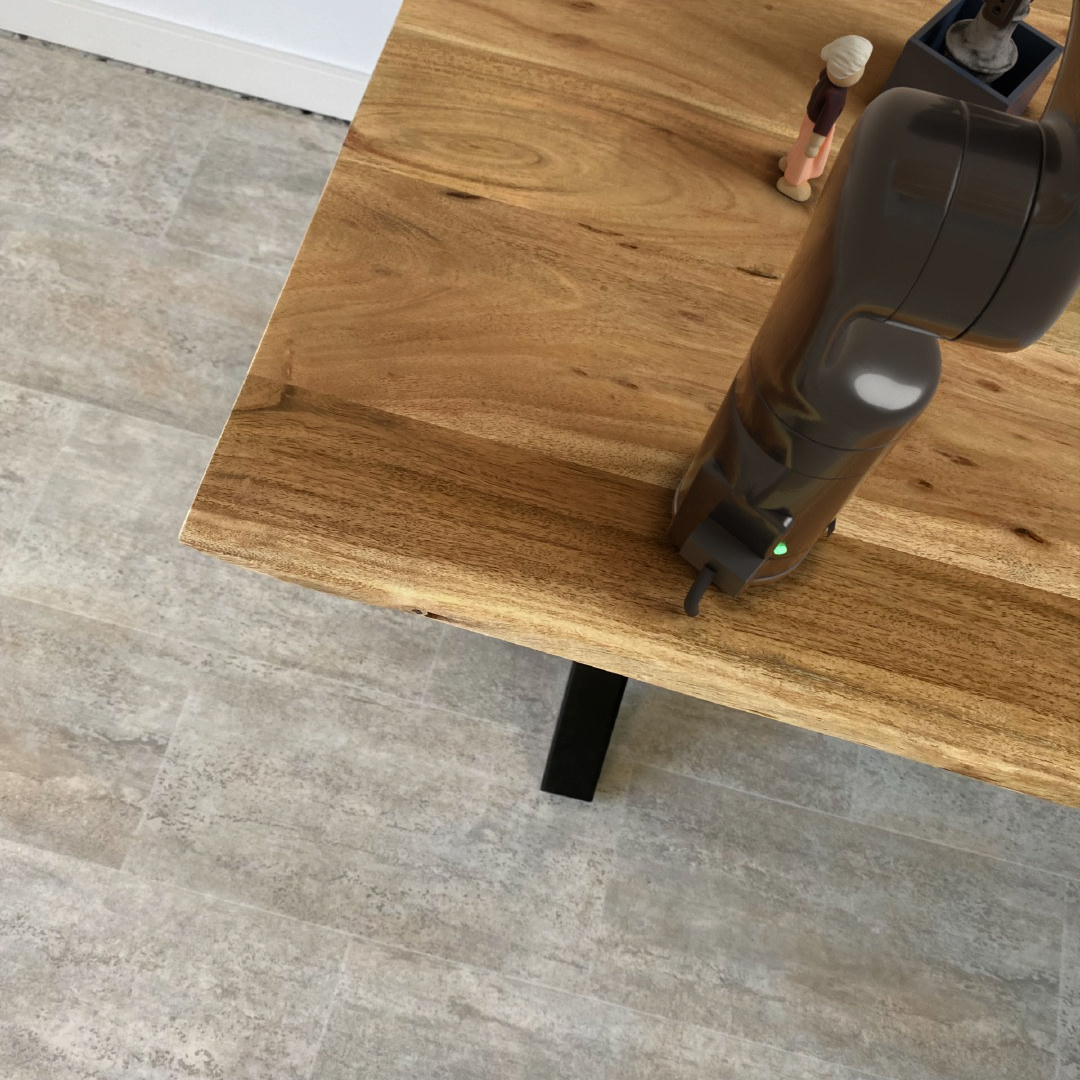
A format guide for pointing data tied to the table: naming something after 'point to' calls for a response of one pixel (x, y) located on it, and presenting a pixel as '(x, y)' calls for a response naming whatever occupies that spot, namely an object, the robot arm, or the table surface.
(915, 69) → the bin
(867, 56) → the grandmother figurine
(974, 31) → the grey chess piece
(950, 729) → the table surface
